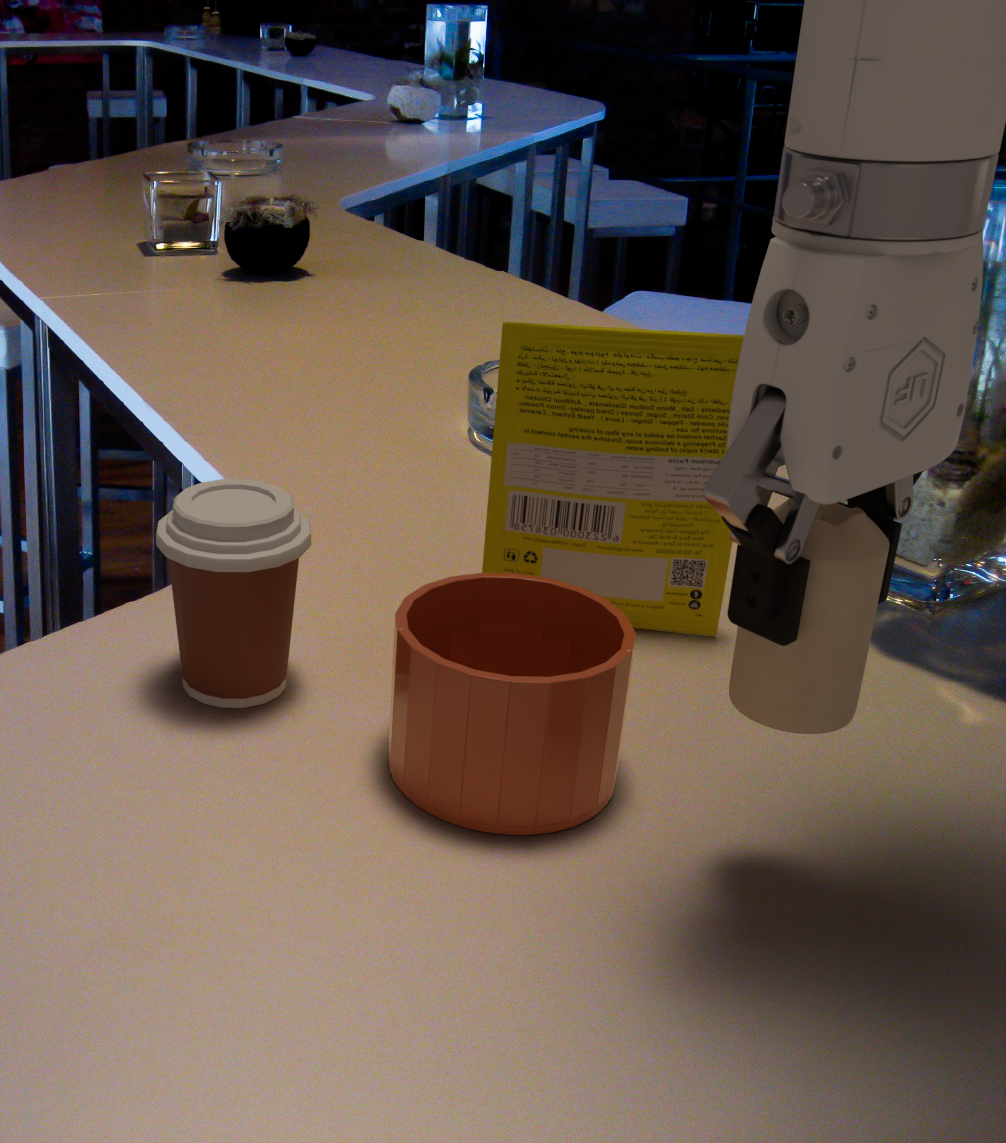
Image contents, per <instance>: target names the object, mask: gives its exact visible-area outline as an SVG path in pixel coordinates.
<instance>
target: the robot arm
mask: <svg viewBox="0 0 1006 1143" xmlns="http://www.w3.org/2000/svg"><path fill="white" fill-rule="evenodd" d="M793 73H794V74H793V79H792V80H793V81H792V85H791V86H792V87H791V94H790V101H789V106H788V107H789V108H788V115H787V121H786V129H785V136H784V142H783V143H784V146H783V147H782V154H781V162H780V169H779V175H778V182H777V188H776V189H777V190H776V196H775V204H774V211H773V216H772V224H771V233H772V234H773V235H774V237H772V238H771V239H770V240H769V243H768V247H767V250H766V253H765V256H764V260H763V262H762V266H761V268H760V273H759V276H758V280H757V283H756V285H755V286H756V287H755V290H754V292H753V293H754V294H753V297H752V301H751V305H750V309H749V314H748V317H747V321H746V324H745V330H744V334H743V335H744V339H743V343H742V348H741V352H740V357H739V362H738V368H737V373H736V378H735V384H734V390H733V396H732V403H731V409H730V417H729V425H728V438H727V453H726V454H725V456H724V457H723V459H722V460H721V462H720V464H719V465H718V467H717V468H716V470H715V471H714V473H713V474H712V476H711V478H710V479H709V481H708V482H707V484H706V486H705V489H704V497H705V499H706V500H707V501H708V502H709V503H710V504H711V506H712V507H713V508H714V509H715V510H716V511H717V512H718V513H719V514H720V515H721V516H722V520H723V522H724V523H725V524H726V525H727V527H728V528H729V529H730V539H731V541H732V543H734V544H737V545H736V551H735V559H734V566H733V573H732V580H731V587H730V592H729V598H728V599H729V600H728V607H727V613H726V614H727V618H728V620H729V621H730V623H732V624H733V625H735V626H737V627H738V626H739V627H742V628H744V629H746V630H748V631H750V632H753V633H755V634H757V635H759V636H761V637H763V638H766V639H768V640H770V641H772V642H774V643H777V644H779V645H781V646H786V645H788V644H791V643H793V642H795V641H796V640H797V636H798V631H799V625H800V619H801V613H802V608H803V602H804V596H805V591H806V585H807V579H808V573H809V568H810V562H811V561H810V560H808V559H805V558H803V557H800V555H801V553H802V550H803V548H804V545H805V542H806V540H807V537H808V535H809V532H810V529H811V527H812V524H813V521H814V519H815V516H816V513H817V511H818V508H819V506H820V504H833V503H838V504H840V505H843V506H846V507H848V508H851V509H852V508H855V507H858V508H860V509H861V510H863V511H864V512H865V514H866V515H867V516H868V517H869V518H870V519H871V520H872V521H873V522H874V523H875V524H876V525H877V526H878V527H879V528H880V530H881V531H882V532H883V533H884V534H885V536H886V537H887V539H888V540H889V544H890V545H889V551H888V556H887V561H886V566H885V571H884V576H883V581H882V586H881V591H880V596H879V601H878V605H880V604H882V603H884V602H886V601H887V599H888V596H889V590H890V586H891V581H892V578H893V577H892V576H893V571H894V567H895V562H896V557H897V552H898V547H899V542H900V537H901V532H902V529H903V528H902V527H903V523H901V522H899V521H903V520H905V519H906V518H907V517H908V516H909V514H910V513H911V511H912V508H913V506H914V498H915V497H914V486H915V485H916V483H917V482H918V480H919V479H920V477H921V476H922V475H923V473H924V472H925V471H927V470H928V469H930V468H933V467H935V466H937V465H938V464H941V463H942V462H943V461H945V460H946V459H948V458H949V456H951V454H952V453H953V452H954V451H955V450H956V448H957V446H958V443H959V438H960V435H961V431H962V426H963V421H964V417H965V410H966V406H967V400H968V394H969V389H970V384H971V378H972V370H973V364H974V358H975V351H976V345H977V337H978V330H979V322H980V315H981V314H980V313H981V302H982V295H983V294H982V292H983V283H984V282H983V280H984V227H985V222H986V218H987V213H988V210H989V209H988V208H989V203H990V199H991V194H992V189H993V186H994V185H993V184H994V179H995V176H996V171H997V165H998V161H999V153H1000V150H1001V145H1002V141H1003V136H1004V131H1005V127H1006V0H804V4H803V10H802V16H801V23H800V31H799V38H798V45H797V52H796V59H795V66H794V72H793ZM783 466H785V469H786V474H787V477H788V478H785V477H782V476H779V475H777V473H778V470H779V468H780V467H783ZM773 494H777V495H780V496H782V497H785V498H787V499H789V498H791V499H794V500H792V503H791V506H790V508H789V511H788V514H787V516H786V519H785V522H784V524H783V523H782V522H781V521H780V519H779V518H778V516H777V515H776V514H775V512H774V511H773V509H774V508H771V507H770V506H769V503H770V501H771V498H772V495H773ZM843 501H844V502H847V503H843ZM895 519H896V520H899V521H896V520H895Z"/></svg>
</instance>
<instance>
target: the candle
mask: <svg viewBox="0 0 1006 1143" xmlns="http://www.w3.org/2000/svg"><path fill="white" fill-rule="evenodd" d="M792 500H794V499H791V498H787V499H786V500H785V501H783V502H782V503H781V504H779V505H778V506H775V507H774V508H772V509H773V511H774V512H775V514H776V515H777V516H778V518H779V519H780V521H781V522H782V523H783V524H784V522H785V519H786V516H787V514H788V511H789V508H790V506H791V503H792ZM889 545H890V544H889V540H888V539H887V537H886V536H885V534H884V533H883V532H882V531H881V530H880V528H879V527H878V526H877V525H876V524H875V523H874V522H873V521H872V520H871V519H870V518H869V517H868V516H867V515H866V514H865V512H864V511H863V510H861V509H860V508H858V507H855V508H852V509H851V508H848V507H846V506H843V505H840V504H838V503H833V504H820V506H819V508H818V511H817V513H816V516H815V519H814V521H813V524H812V527H811V529H810V532H809V535H808V537H807V540H806V542H805V545H804V548H803V550H802V553H801V555H800V557H803V558H805V559H808V560H810V561H811V562H810V568H809V573H808V579H807V585H806V591H805V596H804V602H803V608H802V613H801V619H800V625H799V631H798V636H797V640H796V641H795V642H793V643H791V644H788V645H786V646H781V645H779V644H777V643H774V642H772V641H770V640H768V639H766V638H763V637H761V636H759V635H757V634H755V633H753V632H750V631H748V630H746V629H744V628H742V627H739V626H737V628H736V635H735V636H736V637H735V642H734V649H733V656H732V661H731V662H732V663H731V669H730V675H729V676H730V677H729V685H728V693H729V694H728V696H729V700H730V702H731V704H732V705H733V707H734V708H735V709H736V710H737V711H738V712H739V713H740V714H741V715H743V716H744V717H746V718H748V719H749V720H751V721H753V722H755V723H757V724H759V725H762V726H764V727H767V728H770V729H773V730H777V731H781V732H784V733H785V732H787V733H792V734H801V735H820V734H821V735H822V734H828V733H832V732H836V731H838V730H841V729H843V728H845V727H847V726H848V725H849V724H850V723H851V722H852V720H853V719H854V716H855V715H856V712H857V708H858V704H859V703H858V702H859V699H860V695H861V690H862V684H863V679H864V674H865V669H866V665H867V660H868V656H869V649H870V645H871V640H872V635H873V630H874V625H875V620H876V614H877V610H878V605H879V604H878V601H879V596H880V591H881V586H882V581H883V576H884V571H885V566H886V561H887V556H888V551H889Z"/></svg>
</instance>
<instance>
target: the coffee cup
mask: <svg viewBox="0 0 1006 1143" xmlns="http://www.w3.org/2000/svg"><path fill="white" fill-rule="evenodd" d="M155 546H156V547H157V548H158V549H159V550H160V552H161V553H162V554H163V555H164V556H165V557H166V558H167V559H168V565H169V574H170V583H171V584H170V585H171V592H172V600H173V607H174V608H173V610H174V617H175V626H176V633H177V634H176V635H177V643H178V644H177V645H178V651H179V660H180V669H181V678H182V688H183V689H184V691H185V692H186V693H187V695H188V696H189V697H191V698H193V699H195V700H197V701H198V702H200V703H202V704H204V705H208V706H213V707H217V708H222V709H246V708H251V707H256V706H261V705H265V704H267V703H269V702H271V701H272V700H274V699H276V698H278V697H280V696H281V694H282V693H283V691H284V690H285V689H286V688H287V677H288V668H289V658H290V649H291V639H292V638H291V637H292V630H293V622H294V621H293V620H294V610H295V603H296V602H295V600H296V591H297V582H298V573H299V563H300V558H302V557H303V555H304V554H305V553H306V552H307V551H308V549H310V547H311V546H312V528H311V522H310V520H309V519H307V518H306V517H305V516H304V515H303V514H302V513H301V512H299V510H297V509H296V508H295V501H294V497H292V495H290V494H289V493H288V492H287V491H285V489H283V488H282V487H280V486H277V485H275V484H271V483H269V482H266V481H261V480H254V479H248V478H221V479H216V480H209V481H202V482H199V483H197V484H193V485H191V486H188V487H185V489H184V490H182V491H181V492H180V493H178V494H177V495H176V496H175V497H174V498H173V504H172V509H171V510H170V511H169V512H168V513H167V514H166V515H164V516H163V517H161V519H160V520H158V522H157V527H156V532H155Z"/></svg>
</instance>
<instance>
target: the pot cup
mask: <svg viewBox="0 0 1006 1143" xmlns="http://www.w3.org/2000/svg"><path fill="white" fill-rule="evenodd" d="M393 630H394V631H393V647H392V648H393V649H392V650H393V651H392V652H393V653H392V669H391V688H390V689H391V690H390V708H389V725H388V746H387V748H388V768H389V772H390V775H391V777H392V780H393V782H394V783H395V785H396V786H397V788H398V789H399V790H400V792H402V794H403V795H404V796H405V797H406V798H407V799H408V800H410V801H411V802H412V803H413V804H414V805H416V806H417V807H419V808H420V809H421V810H423V811H425V812H427V813H428V814H430V815H432V816H434V817H436V818H438V819H440V820H443V821H445V822H447V823H450V824H452V825H456V826H458V827H463V828H465V829H469V830H474V831H478V832H483V833H490V834H495V835H507V836H508V835H509V836H532V835H544V834H550V833H557V832H561V831H563V830H568V829H570V828H573V827H577V826H579V825H581V824H583V823H585V822H587V821H588V820H590V819H592V818H594V817H595V816H597V815H598V814H599V813H600V812H601V811H602V810H603V809H604V808H605V807H607V805H608V803H609V802H610V800H611V798H612V797H613V793H614V790H615V784H616V778H617V774H618V768H619V760H620V754H621V747H622V740H623V732H624V724H625V718H626V711H627V705H628V704H627V703H628V697H629V690H630V682H631V676H632V669H633V661H634V654H635V648H636V647H635V646H636V640H637V633H636V630H635V628H633V627H632V625H631V623H630V620H629V618H628V617H627V616H626V615H625V614H624V613H623V612H622V611H620V610H619V609H618V608H617V607H616V606H615V605H613V604H612V603H611V602H609V601H608V600H606V599H604V598H602V597H600V596H598V595H596V594H594V593H592V592H590V591H588V590H586V589H584V588H581V587H578V586H575V585H571V584H568V583H564V582H561V581H558V580H554V579H550V578H544V577H537V576H531V575H524V574H516V573H482V572H476V573H468V574H460V575H453V576H447V577H445V578H441V579H438V580H435V581H432V582H429V583H426V584H423V585H421V586H420V587H418V588H416V590H414V591H412V592H410V593H409V594H408V595H406V596H405V597H404V598H403V599H402V601H401V602H400V604H399V606H398V608H397V610H396V612H395V614H394V629H393Z"/></svg>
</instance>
